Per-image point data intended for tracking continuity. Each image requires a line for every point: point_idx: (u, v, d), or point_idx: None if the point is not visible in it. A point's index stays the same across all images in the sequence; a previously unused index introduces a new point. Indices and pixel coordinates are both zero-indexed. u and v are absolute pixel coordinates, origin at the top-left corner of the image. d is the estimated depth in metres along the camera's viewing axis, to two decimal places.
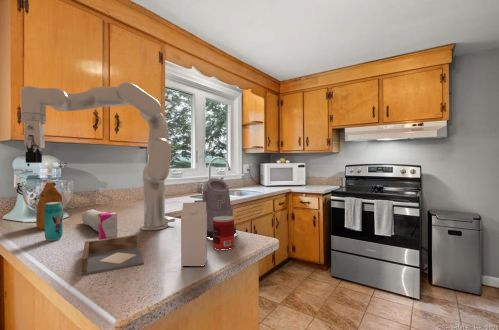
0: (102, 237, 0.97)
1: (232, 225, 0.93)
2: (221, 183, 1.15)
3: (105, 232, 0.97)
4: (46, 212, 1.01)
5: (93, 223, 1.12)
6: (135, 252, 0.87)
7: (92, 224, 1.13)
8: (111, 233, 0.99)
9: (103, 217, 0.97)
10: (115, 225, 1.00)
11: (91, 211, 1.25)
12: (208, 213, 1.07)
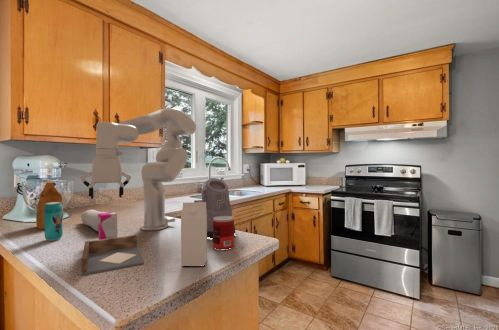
0: (102, 237, 0.97)
1: (232, 225, 0.93)
2: (220, 183, 1.15)
3: (105, 232, 0.97)
4: (46, 212, 1.01)
5: (93, 223, 1.12)
6: (135, 252, 0.87)
7: (92, 224, 1.12)
8: (111, 233, 0.99)
9: (103, 217, 0.97)
10: (115, 225, 1.00)
11: (91, 211, 1.25)
12: (207, 213, 1.07)
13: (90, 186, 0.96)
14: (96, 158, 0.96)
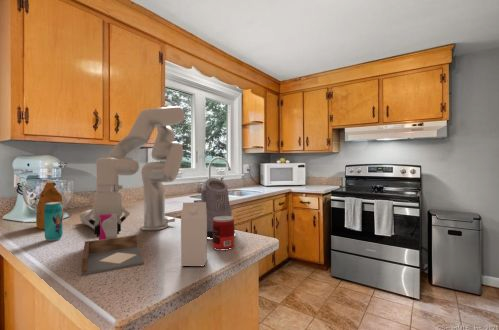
0: (102, 237, 0.97)
1: (232, 225, 0.93)
2: (220, 183, 1.16)
3: (105, 232, 0.97)
4: (46, 212, 1.01)
5: None
6: (135, 252, 0.87)
7: None
8: (111, 233, 0.99)
9: (103, 217, 0.97)
10: (115, 225, 1.00)
11: None
12: None
13: (96, 224, 0.97)
14: (97, 195, 0.97)
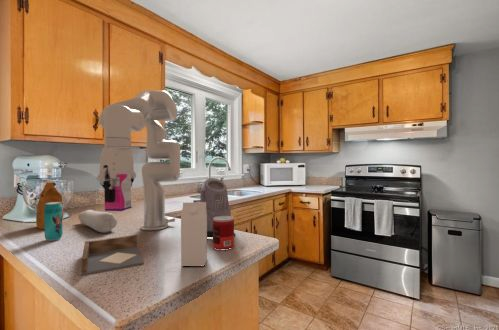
0: (122, 201, 0.80)
1: (232, 225, 0.93)
2: (219, 183, 1.16)
3: (123, 195, 0.81)
4: (46, 212, 1.01)
5: (94, 223, 1.12)
6: (135, 252, 0.87)
7: (93, 224, 1.12)
8: (127, 197, 0.83)
9: (122, 177, 0.80)
10: (130, 187, 0.84)
11: (89, 211, 1.25)
12: None
13: (111, 187, 0.78)
14: (114, 149, 0.78)
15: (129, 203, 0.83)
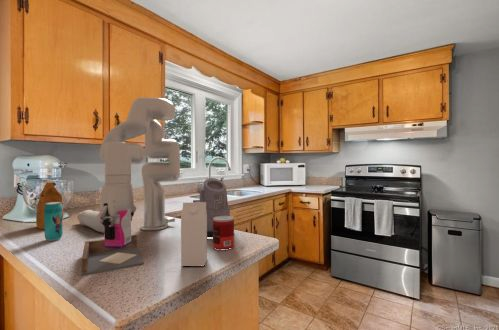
0: (122, 238, 0.80)
1: (232, 225, 0.93)
2: (218, 183, 1.16)
3: (123, 232, 0.80)
4: (46, 212, 1.01)
5: (94, 223, 1.11)
6: (135, 252, 0.87)
7: (93, 224, 1.12)
8: (127, 233, 0.82)
9: (122, 214, 0.80)
10: (130, 222, 0.84)
11: (88, 211, 1.24)
12: None
13: (111, 224, 0.78)
14: (115, 187, 0.78)
15: (129, 239, 0.83)
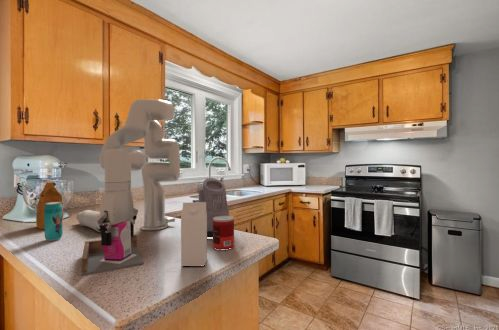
0: (121, 251, 0.79)
1: (232, 225, 0.93)
2: (218, 183, 1.16)
3: (123, 245, 0.80)
4: (46, 212, 1.01)
5: None
6: (135, 252, 0.87)
7: (93, 224, 1.12)
8: (127, 245, 0.82)
9: (121, 226, 0.80)
10: (129, 234, 0.84)
11: (88, 211, 1.24)
12: None
13: (108, 230, 0.77)
14: (115, 194, 0.78)
15: (128, 251, 0.83)
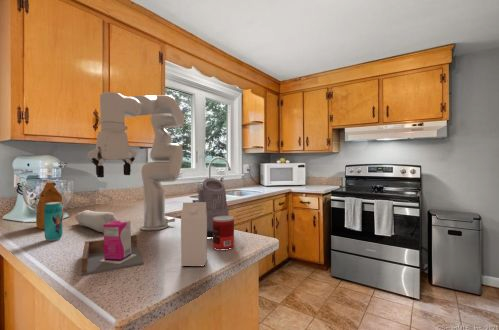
0: (121, 251, 0.79)
1: (232, 225, 0.93)
2: (217, 183, 1.16)
3: (123, 245, 0.80)
4: (46, 212, 1.01)
5: (95, 223, 1.11)
6: (135, 252, 0.87)
7: (94, 224, 1.12)
8: (127, 245, 0.82)
9: (121, 226, 0.80)
10: (129, 234, 0.84)
11: (87, 212, 1.24)
12: None
13: (100, 163, 0.87)
14: (106, 132, 0.87)
15: (128, 251, 0.83)
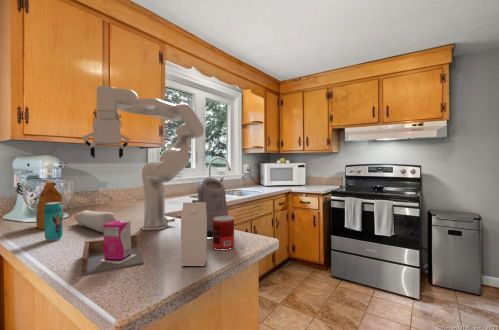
0: (121, 251, 0.79)
1: (232, 225, 0.93)
2: (217, 183, 1.16)
3: (123, 245, 0.80)
4: (46, 212, 1.01)
5: (95, 223, 1.11)
6: (135, 252, 0.87)
7: (94, 224, 1.12)
8: (127, 245, 0.82)
9: (121, 226, 0.80)
10: (129, 234, 0.84)
11: (87, 212, 1.24)
12: None
13: (91, 146, 1.02)
14: (97, 119, 1.02)
15: (128, 251, 0.83)
